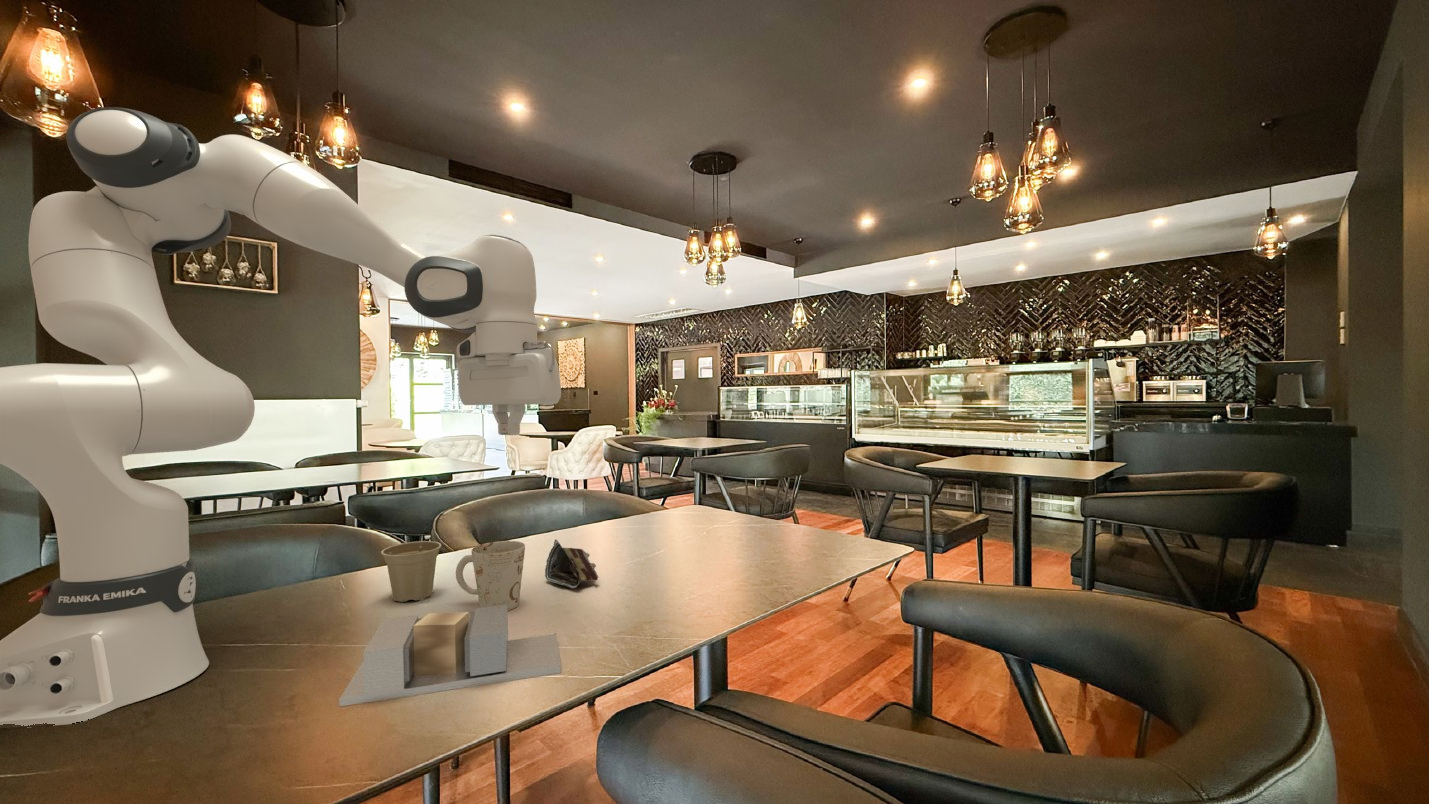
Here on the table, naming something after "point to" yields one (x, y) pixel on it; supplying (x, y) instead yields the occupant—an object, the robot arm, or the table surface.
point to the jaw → (486, 640)
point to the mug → (495, 573)
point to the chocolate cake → (569, 566)
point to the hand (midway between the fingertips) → (509, 435)
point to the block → (440, 643)
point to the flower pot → (411, 569)
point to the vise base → (394, 677)
